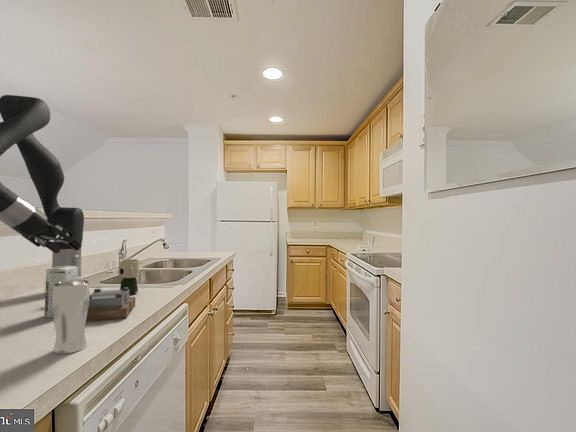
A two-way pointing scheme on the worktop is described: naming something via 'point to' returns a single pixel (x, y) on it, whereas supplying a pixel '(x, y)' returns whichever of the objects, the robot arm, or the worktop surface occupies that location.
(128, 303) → the tower base
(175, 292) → the worktop surface
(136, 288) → the character mug
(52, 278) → the syrup box
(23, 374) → the worktop surface
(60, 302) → the beer glass
